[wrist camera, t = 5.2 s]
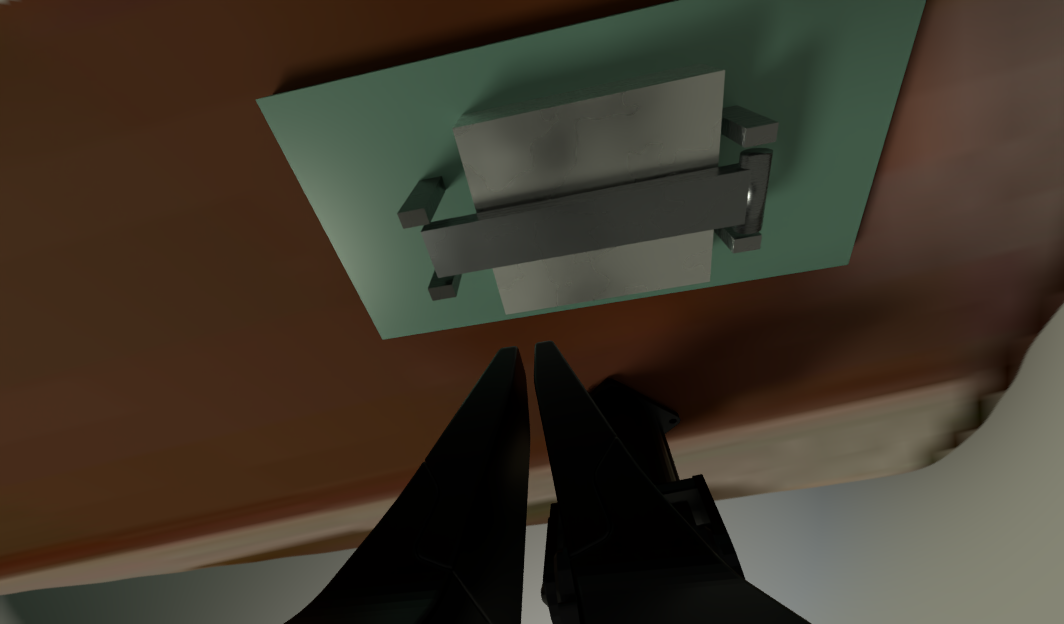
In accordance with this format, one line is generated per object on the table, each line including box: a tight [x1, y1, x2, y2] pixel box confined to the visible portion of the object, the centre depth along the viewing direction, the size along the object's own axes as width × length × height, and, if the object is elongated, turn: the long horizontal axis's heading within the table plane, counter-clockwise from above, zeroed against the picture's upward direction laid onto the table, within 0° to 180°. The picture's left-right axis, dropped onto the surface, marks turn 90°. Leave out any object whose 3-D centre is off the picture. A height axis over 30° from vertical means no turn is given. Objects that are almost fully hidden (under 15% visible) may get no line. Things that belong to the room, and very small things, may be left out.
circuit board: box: [256, 0, 926, 339], centre depth 18 cm, size 24×12×1 cm, turn 101°
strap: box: [421, 148, 773, 278], centre depth 15 cm, size 12×3×1 cm, turn 101°
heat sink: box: [397, 63, 779, 315], centre depth 16 cm, size 13×8×4 cm, turn 101°
